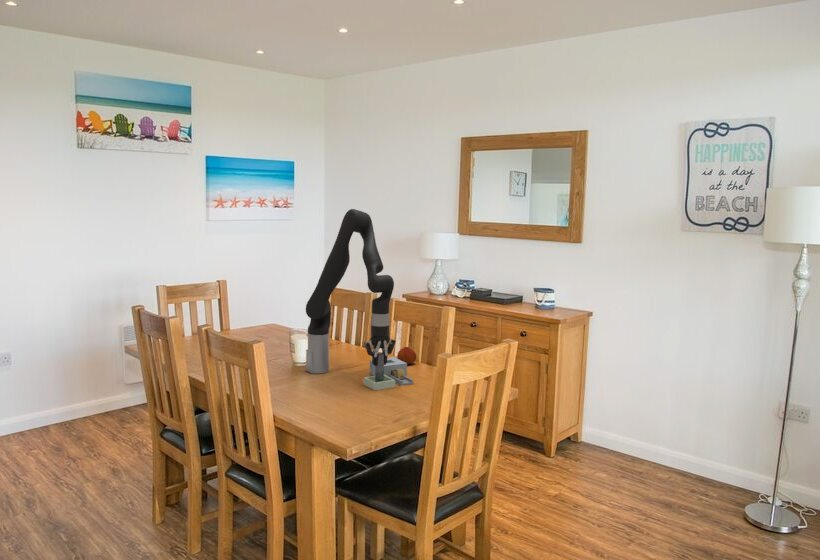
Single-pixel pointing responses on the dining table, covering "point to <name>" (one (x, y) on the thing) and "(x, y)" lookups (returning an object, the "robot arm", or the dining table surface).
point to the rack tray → (379, 383)
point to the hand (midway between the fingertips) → (379, 364)
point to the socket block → (393, 365)
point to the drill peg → (379, 368)
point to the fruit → (406, 355)
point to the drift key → (398, 373)
